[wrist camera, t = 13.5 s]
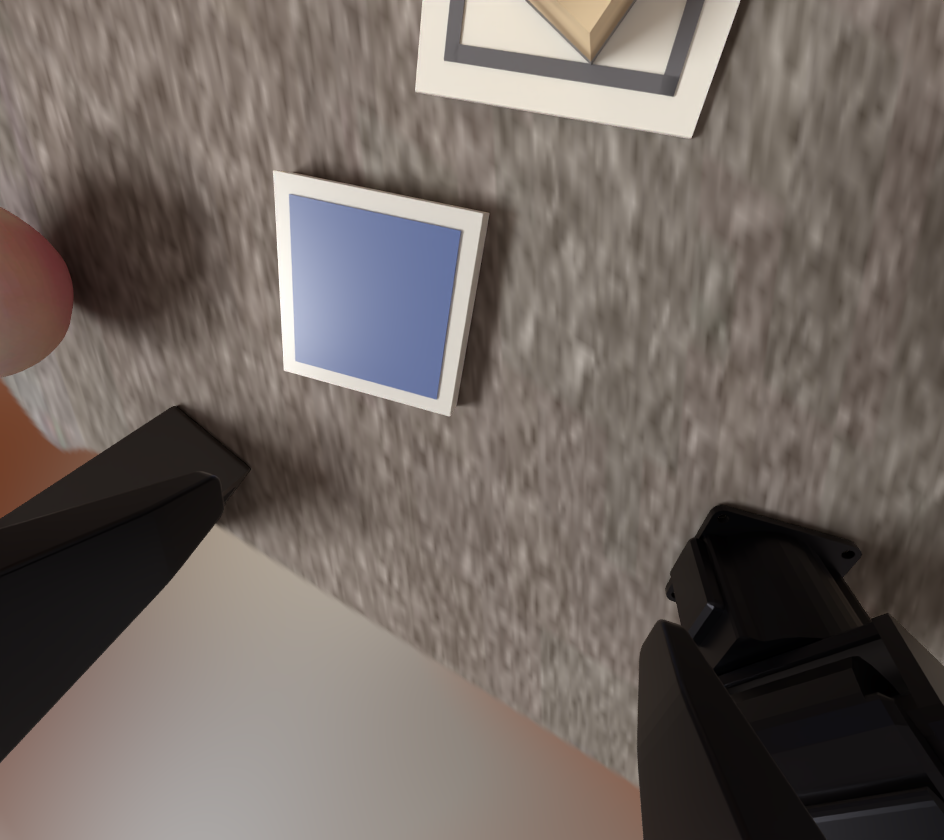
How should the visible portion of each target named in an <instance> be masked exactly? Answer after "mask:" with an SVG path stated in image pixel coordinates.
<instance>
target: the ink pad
mask: <svg viewBox="0 0 944 840" xmlns="http://www.w3.org/2000/svg"><path fill="white" fill-rule="evenodd" d="M273 176H274V194H275V213H276V231H277V250H278V269H279V287H280V306H281V324H282V343H283V361H284V371H288V372H291V373H295V374H299V375H302V376H306V377H309V378H313V379H317V380H320V381H324V382H327V383H331V384H335V385H338V386H342V387H345V388H349V389H353V390H356V391H360V392H363V393H367V394H371V395H374V396H378V397H381V398H385V399H389V400H392V401H396V402H400V403H403V404H407V405H410V406H414V407H418V408H421V409H425V410H428V411H432V412H436V413H439V414H443V415H446V416H450V415H451V414H452V412H453V411H454V409H455V408H456V406H457V401H458V395H459V389H460V383H461V377H462V372H463V366H464V360H465V354H466V348H467V342H468V337H469V331H470V325H471V319H472V313H473V307H474V302H475V296H476V290H477V284H478V278H479V272H480V267H481V261H482V255H483V249H484V243H485V238H486V232H487V226H488V220H489V214H490V213H488V212H483V211H478V210H473V209H468V208H464V207H459V206H454V205H449V204H444V203H439V202H434V201H429V200H425V199H420V198H415V197H410V196H405V195H400V194H395V193H391V192H386V191H381V190H376V189H371V188H366V187H361V186H357V185H352V184H347V183H342V182H337V181H332V180H327V179H322V178H318V177H313V176H308V175H303V174H298V173H293V172H286V171H276V170H273Z"/></svg>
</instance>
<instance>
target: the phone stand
mask: <svg viewBox="0 0 944 840" xmlns="http://www.w3.org/2000/svg"><path fill="white" fill-rule="evenodd" d="M250 470H251V468H249V467H248V466H247V465H246V464H245V463H243V462H242V461H241V460H240V459H239V458H237V457H236V456H235V455H234V454H233V453H231V452H230V451H229V450H228V449H227V448H225V447H224V446H223V445H222V444H221V443H219V442H218V441H217V440H216V439H215V438H213V437H212V436H211V435H210V434H209V433H207V432H206V431H205V430H204V429H203V428H201V427H200V426H199V425H198V424H196V423H195V422H194V421H193V420H192V419H190V418H189V417H188V416H187V415H186V414H184V413H183V412H182V411H181V410H180V409H178V408H177V407H176V406H173V407H171V408H169V409H168V410H166V411H165V412H163V413H162V414H160V415H158V416H157V417H155V418H154V419H152V420H151V421H149V422H148V423H146V424H145V425H143V426H142V427H140V428H139V429H137V430H136V431H134V432H132V433H131V434H129V435H128V436H126V437H125V438H123V439H122V440H120V441H119V442H117V443H116V444H114V445H113V446H111V447H110V448H108V449H106V450H105V451H103V452H102V453H100V454H99V455H97V456H96V457H94V458H93V459H91V460H90V461H88V462H87V463H85V464H84V465H82V466H80V467H79V468H77V469H76V470H74V471H73V472H71V473H70V474H68V475H67V476H65V477H64V478H62V479H61V480H59V481H58V482H56V483H54V484H53V485H51V486H50V487H48V488H47V489H45V490H44V491H42V492H41V493H40V494H38V495H36V496H35V497H33V498H32V499H30V500H29V501H27V502H25V503H24V504H22V505H21V506H19V507H18V508H16V509H15V510H13V511H12V512H10V513H9V514H7V515H5V516H4V517H2V518H1V519H0V528H4V527H7V526H11V525H14V524H17V523H21V522H24V521H28V520H31V519H35V518H38V517H41V516H45V515H48V514H52V513H55V512H59V511H62V510H65V509H69V508H72V507H76V506H79V505H83V504H86V503H89V502H93V501H96V500H100V499H103V498H106V497H110V496H113V495H117V494H120V493H124V492H127V491H130V490H134V489H137V488H141V487H144V486H148V485H151V484H154V483H158V482H161V481H165V480H168V479H171V478H175V477H178V476H182V475H185V474H189V473H192V472H196V471H203V472H206V473H209V474H212V475H215V476H217V477H218V478H219V479H220V482H221V488H222V494H223V501H224V505H225V503H226V501H227V500H228V499H229V498H230V497H231V495H232V494H233V493H234V491H235V490H236V489H237V487H238V486H239V484H240V483H241V482H242V480H243V479H244V478H245V476H246V475H247V474H248V472H249V471H250Z"/></svg>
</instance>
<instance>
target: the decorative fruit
mask: <svg viewBox="0 0 944 840" xmlns="http://www.w3.org/2000/svg"><path fill="white" fill-rule="evenodd" d="M72 308H73V285H72V280H71V277H70V274H69V270H68V267H67V265H66V263H65V261H64V260H63V258H62V257H61V256H60V254H59V253H58V252H57V251H56V249H55V248H54V247H53V246H52V245H51V244H50V243H49V242H48V241H47V240H46V239H45V238H44V237H43V236H42V235H41V234H40V233H39V232H37V231H36V230H35V229H34V228H32V227H31V226H30V225H28V224H27V223H26V222H24V221H23V220H21V219H20V218H18V217H17V216H15V215H14V214H12V213H10V212H9V211H7V210H5V209H3V208H2V207H0V378H1V377H5V376H9V375H13V374H15V373H18V372H21V371H23V370H25V369H27V368H29V367H31V366H33V365H35V364H37V363H39V362H40V361H41V360H43V359H44V358H45V357H47V356H48V355H49V354H50V353H51V352H52V351H53V350H54V349H55V348H56V347H57V346H58V345H59V344H60V342H61V341H62V340H63V338H64V337H65V334H66V332H67V330H68V328H69V325H70V320H71V314H72Z"/></svg>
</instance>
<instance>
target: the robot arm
mask: <svg viewBox="0 0 944 840" xmlns="http://www.w3.org/2000/svg"><path fill="white" fill-rule="evenodd" d="M223 510H224V501H223V494H222V488H221V482H220V479H219V478H218V477H217V476H215V475H212V474H209V473H206V472H203V471H196V472H192V473H189V474H185V475H182V476H178V477H175V478H171V479H168V480H165V481H161V482H158V483H154V484H151V485H148V486H144V487H141V488H137V489H134V490H130V491H127V492H124V493H120V494H117V495H113V496H110V497H106V498H103V499H100V500H96V501H93V502H89V503H86V504H83V505H79V506H76V507H72V508H69V509H65V510H62V511H59V512H55V513H52V514H48V515H45V516H41V517H38V518H35V519H31V520H28V521H24V522H21V523H17V524H14V525H11V526H7V527H4V528H0V763H1V762H2V761H3V759H4V758H5V757H6V756H7V755H8V754H9V753H10V752H11V751H12V750H13V749H14V748H15V747H16V746H17V744H18V743H19V742H20V741H21V740H22V739H23V738H24V737H25V736H26V735H27V734H28V733H29V732H30V731H31V730H32V728H33V727H34V726H35V725H36V724H37V723H38V722H39V721H40V720H41V719H42V718H43V717H44V716H45V715H46V714H47V712H48V711H49V710H50V709H51V708H52V707H53V706H54V705H55V704H56V703H57V702H58V701H59V700H60V698H61V697H62V696H63V695H64V694H65V693H66V692H67V691H68V690H69V689H70V688H71V687H72V686H73V685H74V683H75V682H76V681H77V680H78V679H79V678H80V677H81V676H82V675H83V674H84V673H85V672H86V671H87V670H88V669H89V667H90V666H91V665H92V664H93V663H94V662H95V661H96V660H97V659H98V658H99V657H100V656H101V655H102V653H104V651H105V650H106V649H107V648H108V647H109V646H110V645H111V644H112V643H113V642H114V641H115V640H116V638H118V636H119V635H120V634H121V633H122V632H123V631H124V630H125V629H126V628H127V627H128V626H129V625H130V624H131V622H132V621H133V620H134V619H135V618H136V617H137V616H138V615H139V614H140V613H141V612H142V611H143V609H144V608H146V607H147V605H148V604H149V603H150V602H151V601H152V600H153V599H154V598H155V597H156V596H157V595H158V594H159V592H160V591H161V590H162V589H163V588H164V587H165V586H166V585H167V584H168V583H169V581H170V580H171V579H172V578H173V577H174V576H175V574H176V573H177V572H178V570H179V569H180V568H181V567H182V566H183V564H184V563H185V562H186V561H187V559H188V558H189V557H190V555H191V554H192V553H193V552H194V550H195V549H196V548H197V547H198V545H199V544H200V542H201V541H202V540H203V539H204V538H205V536H206V535H207V534H208V532H209V531H210V530H211V529H212V527H213V526H214V525H215V523H216V522H217V521H218V520H219V518H220V517H221V515H222V513H223ZM720 515H726V516H725V517H723V518H718V517H719V516H720ZM847 550H849V551H848V552H845V553H843V552H844V551H847ZM861 555H862V554H861V551H860V549H859V548H858V547H857V545H856V544H855V543H854V542H852V541H849V540H845V539H842V538H838V537H835V536H831V535H828V534H824V533H821V532H817V531H813V530H810V529H806V528H803V527H799V526H796V525H792V524H789V523H785V522H781V521H778V520H774V519H771V518H767V517H764V516H760V515H757V514H753V513H749V512H746V511H742V510H739V509H735V508H732V507H728V506H723V505H720V506H716V507H714V508H712V509H711V510H710V512H709V514H708V515H707V517H706V519H705V520H704V522H703V524H702V526H701V527H700V529H699V531H698V532H697V534H696V536H695V537H694V538H692V539H690V540H689V541H688V542H687V544H686V546H685V548H684V549H683V551H682V553H681V554H680V556H679V558H678V560H677V561H676V563H675V565H674V567H673V568H672V570H671V572H670V575H671V578H670V580H669V582H668V583H667V585H666V588H665V591H666V595H667V598H668V599H669V600H671V601H674V602H676V604H677V608H678V613H679V618H680V623H681V625H679V624H676V623H672V622H669V621H666V620H659V621H657V622H656V624H655V625H654V627H653V629H652V630H651V632H650V633H649V635H648V637H647V638H646V640H645V642H644V643H643V645H642V648H641V651H640V657H639V689H638V725H637V757H638V773H639V786H640V798H641V813H642V826H643V838H644V839H643V840H944V666H943V665H942V664H941V663H940V662H939V661H938V660H937V659H936V658H935V657H934V656H933V655H932V654H931V653H930V652H929V651H927V650H926V649H925V648H924V647H923V646H922V645H921V644H920V643H919V642H918V641H917V640H916V639H915V638H914V637H913V636H912V635H911V634H910V633H909V632H908V631H907V630H906V629H905V628H904V627H903V626H901V625H900V624H899V623H898V622H897V621H896V620H895V619H894V618H893V617H892V616H891V615H890V614H889V613H886V614H884V615H881V616H878V617H875V618H872V619H870V618H869V616H868V615H867V613H866V612H865V610H864V609H863V607H862V606H861V604H860V603H859V601H858V600H857V598H856V597H855V595H854V594H853V592H852V591H851V589H850V588H849V586H848V585H847V583H846V582H845V580H844V579H843V577H844V576H845V575H846V573H847V572H848V571H849V570H850V569H851V568H852V567H853V565H854V564H855V563H856V562H857V561H858V560H859V559H860V557H861ZM871 620H872V621H871Z"/></svg>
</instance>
